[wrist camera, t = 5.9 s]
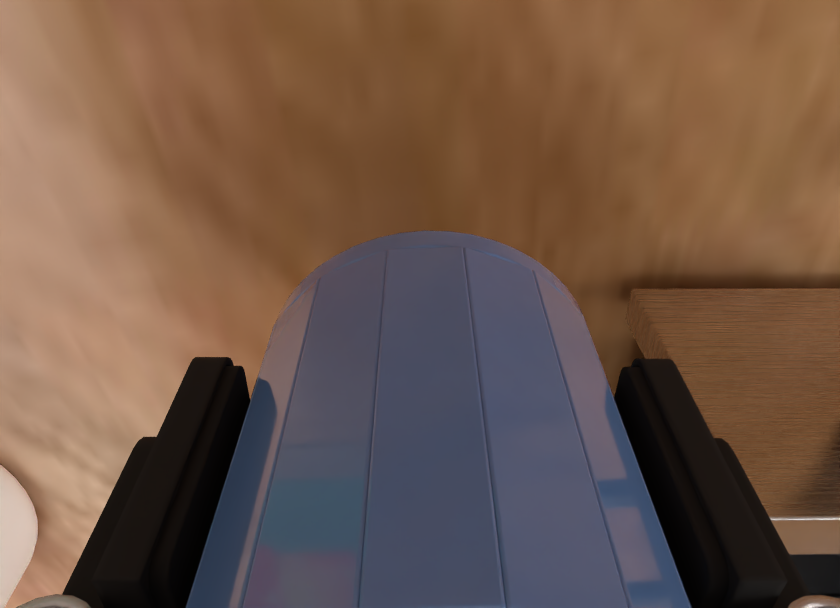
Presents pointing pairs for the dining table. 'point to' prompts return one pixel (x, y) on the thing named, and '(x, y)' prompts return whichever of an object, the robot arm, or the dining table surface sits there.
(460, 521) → the cup
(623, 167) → the dining table surface
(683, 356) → the drawer
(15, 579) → the wine bottle
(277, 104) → the dining table surface
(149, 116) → the dining table surface
